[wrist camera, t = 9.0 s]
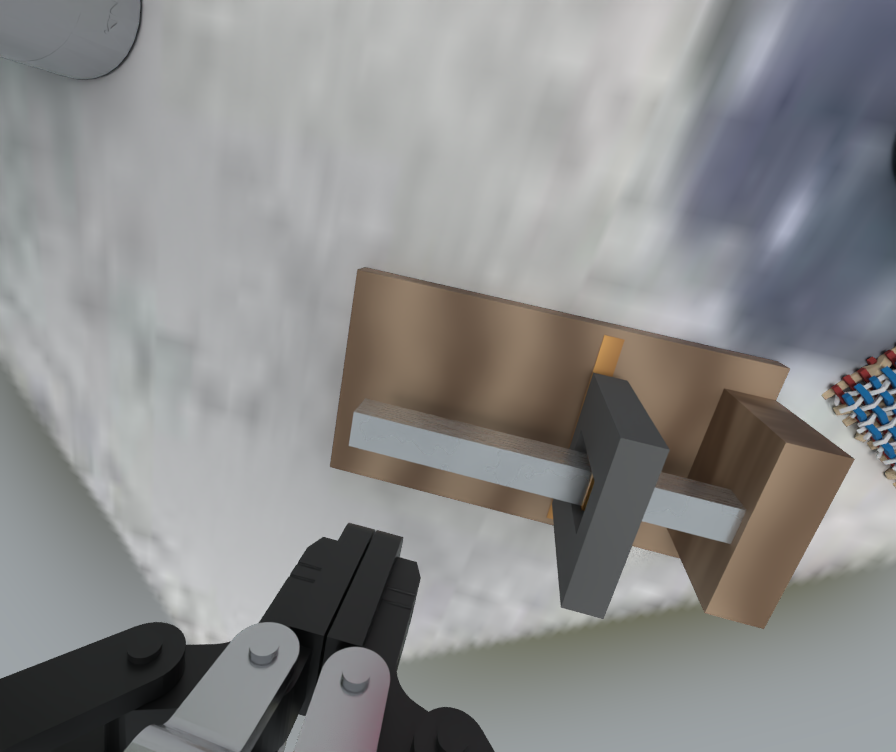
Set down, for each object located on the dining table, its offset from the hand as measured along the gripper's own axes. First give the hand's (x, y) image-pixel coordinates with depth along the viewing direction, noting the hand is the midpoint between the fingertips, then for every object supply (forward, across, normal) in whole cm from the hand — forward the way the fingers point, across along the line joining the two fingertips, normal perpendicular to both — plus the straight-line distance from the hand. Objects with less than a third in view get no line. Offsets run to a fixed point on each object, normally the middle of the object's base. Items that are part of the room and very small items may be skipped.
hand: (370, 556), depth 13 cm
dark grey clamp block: (+18, -9, +3) cm, 20 cm away
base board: (+21, -6, +3) cm, 22 cm away
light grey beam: (+14, -6, +3) cm, 16 cm away
